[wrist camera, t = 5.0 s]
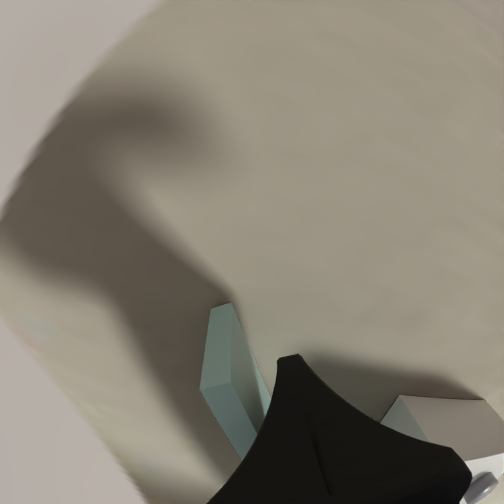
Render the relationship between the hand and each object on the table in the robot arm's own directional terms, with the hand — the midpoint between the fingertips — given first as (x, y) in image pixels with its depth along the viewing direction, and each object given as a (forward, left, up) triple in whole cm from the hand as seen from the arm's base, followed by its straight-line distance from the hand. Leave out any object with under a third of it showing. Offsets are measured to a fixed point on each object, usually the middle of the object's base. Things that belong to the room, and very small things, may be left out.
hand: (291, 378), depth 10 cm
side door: (-5, -2, -2) cm, 6 cm away
